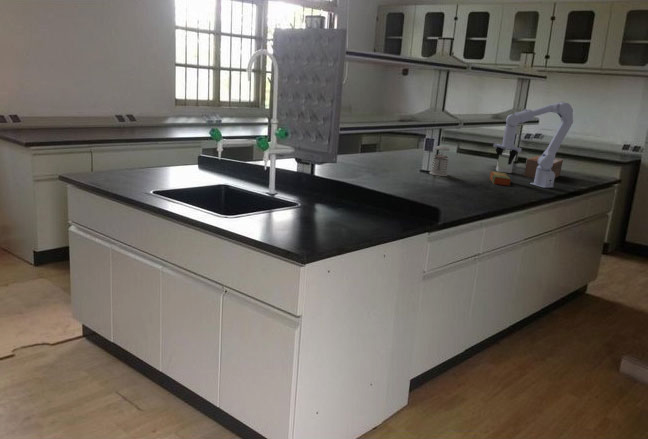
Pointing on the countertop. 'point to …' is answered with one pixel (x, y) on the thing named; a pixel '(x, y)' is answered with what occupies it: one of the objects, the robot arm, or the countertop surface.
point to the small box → (506, 170)
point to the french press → (440, 162)
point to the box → (504, 161)
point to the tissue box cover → (533, 165)
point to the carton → (500, 178)
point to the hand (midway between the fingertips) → (504, 163)
